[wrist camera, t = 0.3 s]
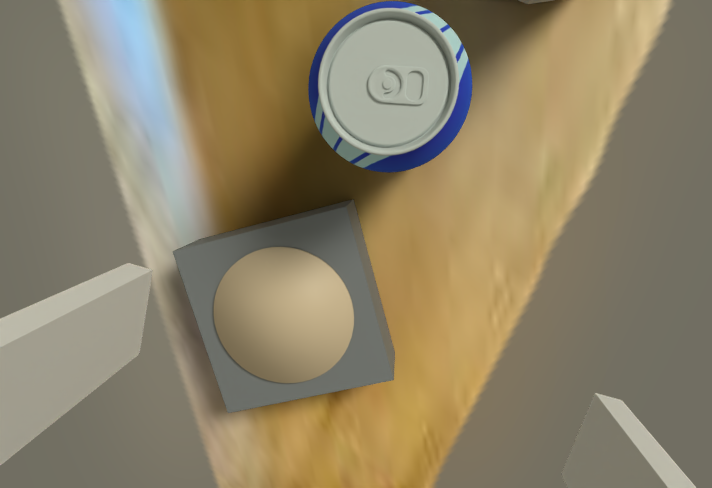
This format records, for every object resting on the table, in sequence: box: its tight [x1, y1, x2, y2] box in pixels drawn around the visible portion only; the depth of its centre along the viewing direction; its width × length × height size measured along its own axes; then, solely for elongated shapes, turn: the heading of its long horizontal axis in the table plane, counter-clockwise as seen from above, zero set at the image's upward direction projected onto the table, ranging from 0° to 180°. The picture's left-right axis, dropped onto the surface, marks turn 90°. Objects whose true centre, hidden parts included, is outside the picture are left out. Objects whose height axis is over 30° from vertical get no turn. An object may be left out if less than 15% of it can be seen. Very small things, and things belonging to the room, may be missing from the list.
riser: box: [173, 199, 395, 413], centre depth 39 cm, size 14×14×5 cm
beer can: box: [309, 1, 472, 172], centre depth 30 cm, size 8×8×16 cm
